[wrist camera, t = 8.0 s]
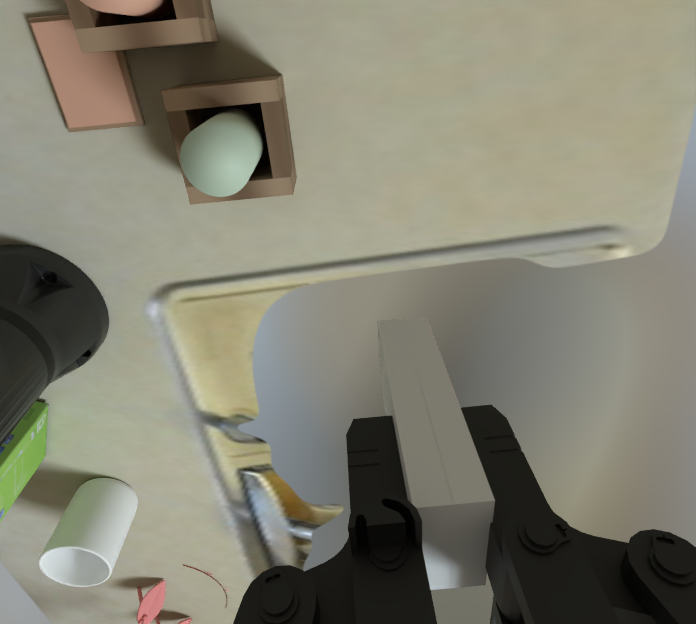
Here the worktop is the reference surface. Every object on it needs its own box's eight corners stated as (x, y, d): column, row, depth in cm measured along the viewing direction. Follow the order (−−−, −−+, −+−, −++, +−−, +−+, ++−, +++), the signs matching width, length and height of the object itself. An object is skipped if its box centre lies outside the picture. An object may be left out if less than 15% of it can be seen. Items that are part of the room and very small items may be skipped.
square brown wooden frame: (205, 185, 46) (190, 204, 40) (181, 84, 41) (160, 91, 36) (296, 177, 46) (293, 194, 40) (282, 74, 41) (276, 79, 36)
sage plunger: (214, 170, 42) (190, 199, 34) (201, 111, 40) (171, 128, 32) (269, 165, 42) (257, 193, 34) (259, 105, 40) (244, 121, 32)
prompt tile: (71, 131, 43) (66, 133, 42) (30, 18, 38) (23, 17, 37) (145, 124, 43) (141, 125, 42) (112, 10, 38) (107, 9, 37)
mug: (96, 530, 71) (62, 603, 62) (69, 477, 65) (26, 549, 56) (152, 526, 71) (127, 599, 62) (130, 473, 65) (98, 544, 56)
